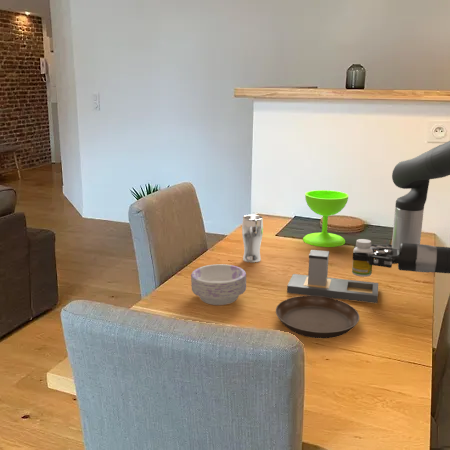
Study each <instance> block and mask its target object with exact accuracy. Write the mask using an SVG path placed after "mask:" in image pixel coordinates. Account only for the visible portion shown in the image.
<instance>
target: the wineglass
mask: <svg viewBox="0 0 450 450" xmlns="http://www.w3.org/2000/svg"><path fill="white" fill-rule="evenodd" d="M304 195H305V202H306V205H307V206H308V207H309V209H310V210H311V211H313V212H314V213H315V214H317V215H319V216H321V217H322V222H321V223H322V224H321V226H322V227H321V232H313V233H308V234H306V235H305V236H303V238H302V241H303V242H304V243H305V244H307V245H311V246H313V247H314V246H315V247H320V248H335V247H341V246H343V245H345V244H346V240H345V238H344V237H342V236H341V235H339V234H335V233H330V232H328V222H329V220H328V219H329V217H330V216H335V215H336V214H339V212H341V211H342V210H343V209H344V208H345V207H346V205H347V203H348V200H349V194H348V193H346V192H344V191H343V192H342V191H337V190H330V189H329V190H327V189H326V190H325V189H322V190H320V189H315V190H310V191H307V192H305V193H304Z"/></svg>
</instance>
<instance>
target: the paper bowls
mask: <svg viewBox="0 0 450 450" xmlns="http://www.w3.org/2000/svg"><path fill="white" fill-rule="evenodd" d="M190 279H191V280H190V282H191V283H190V286H191V291H192V293H193V294H194V295H195V296H197V297H199V299H200V300H201V301H202V302H203V303H205V304H208V305H211V306H212V305H213V306H225V305H226V306H227V305H230V304H232V303H234V302H235V301H237V299H238V298H239V297H240V296H241V295H242V294H244V293H245V292H246V290H247V273H246V271H245V270H244V269H243V268H242V267H240V266H236V265H233V264H226V263H225V264H224V263H223V264H222V263H221V264H217V263H215V264H207V265H204V266H200V267H197V268H195V269H194V270H193V271H192V272H191V275H190Z"/></svg>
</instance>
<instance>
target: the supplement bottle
mask: <svg viewBox="0 0 450 450" xmlns="http://www.w3.org/2000/svg"><path fill="white" fill-rule="evenodd" d="M371 244H372V240H370V239H365V238H359V239H356V243H355V246H357V247H355V246H354V247H355V248H354V247H353V251H352V253H353V252H362V253H373V250H372V249H371V248H370V247H371ZM351 265H352V266H351V267H352V269H351V273H352V274H353V275H354V276H356V277H360V278H361V277H363V278H365V277H367V278H368V277H370V276H371V275H372V274H373V273H372V272H373V265H369V263H368V262H367V261H357V260H353V259H352V264H351Z"/></svg>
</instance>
